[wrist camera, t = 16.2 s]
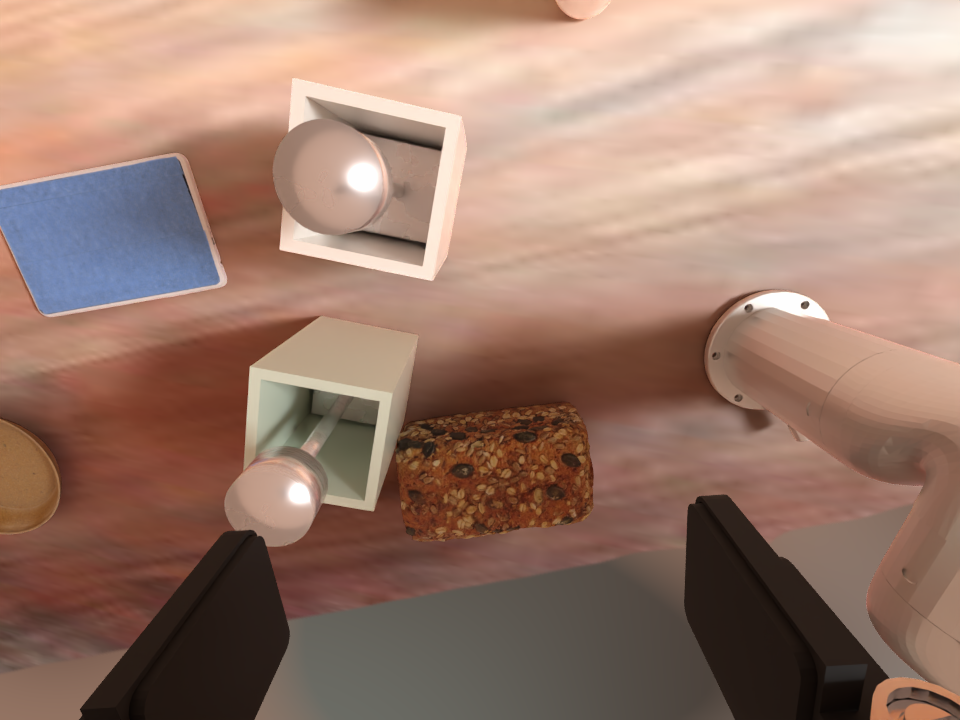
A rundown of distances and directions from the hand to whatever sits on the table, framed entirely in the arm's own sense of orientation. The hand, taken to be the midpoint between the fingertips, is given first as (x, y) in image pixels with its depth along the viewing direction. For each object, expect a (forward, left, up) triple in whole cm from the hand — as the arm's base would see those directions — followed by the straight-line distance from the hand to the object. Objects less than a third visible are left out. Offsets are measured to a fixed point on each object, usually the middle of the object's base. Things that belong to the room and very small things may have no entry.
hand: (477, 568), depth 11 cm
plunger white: (+11, +1, -36) cm, 37 cm away
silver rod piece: (-1, +15, -36) cm, 39 cm away
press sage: (-1, +15, -39) cm, 42 cm away
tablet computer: (+23, +27, -40) cm, 53 cm away
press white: (+11, +1, -39) cm, 41 cm away
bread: (-16, +9, -40) cm, 44 cm away
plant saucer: (+12, +55, -40) cm, 69 cm away
